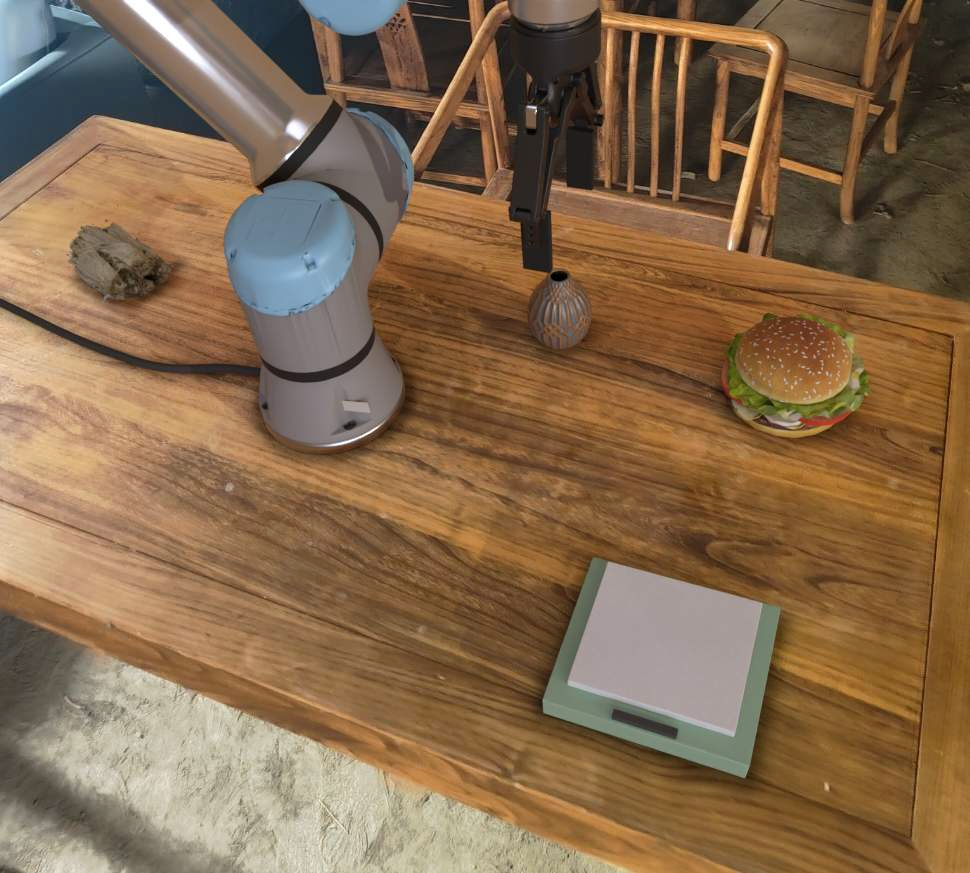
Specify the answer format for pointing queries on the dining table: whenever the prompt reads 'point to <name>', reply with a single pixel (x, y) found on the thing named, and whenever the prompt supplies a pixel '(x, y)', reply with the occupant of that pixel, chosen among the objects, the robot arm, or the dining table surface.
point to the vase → (559, 310)
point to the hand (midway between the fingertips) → (560, 226)
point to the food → (793, 375)
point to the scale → (665, 665)
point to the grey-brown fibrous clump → (116, 262)
